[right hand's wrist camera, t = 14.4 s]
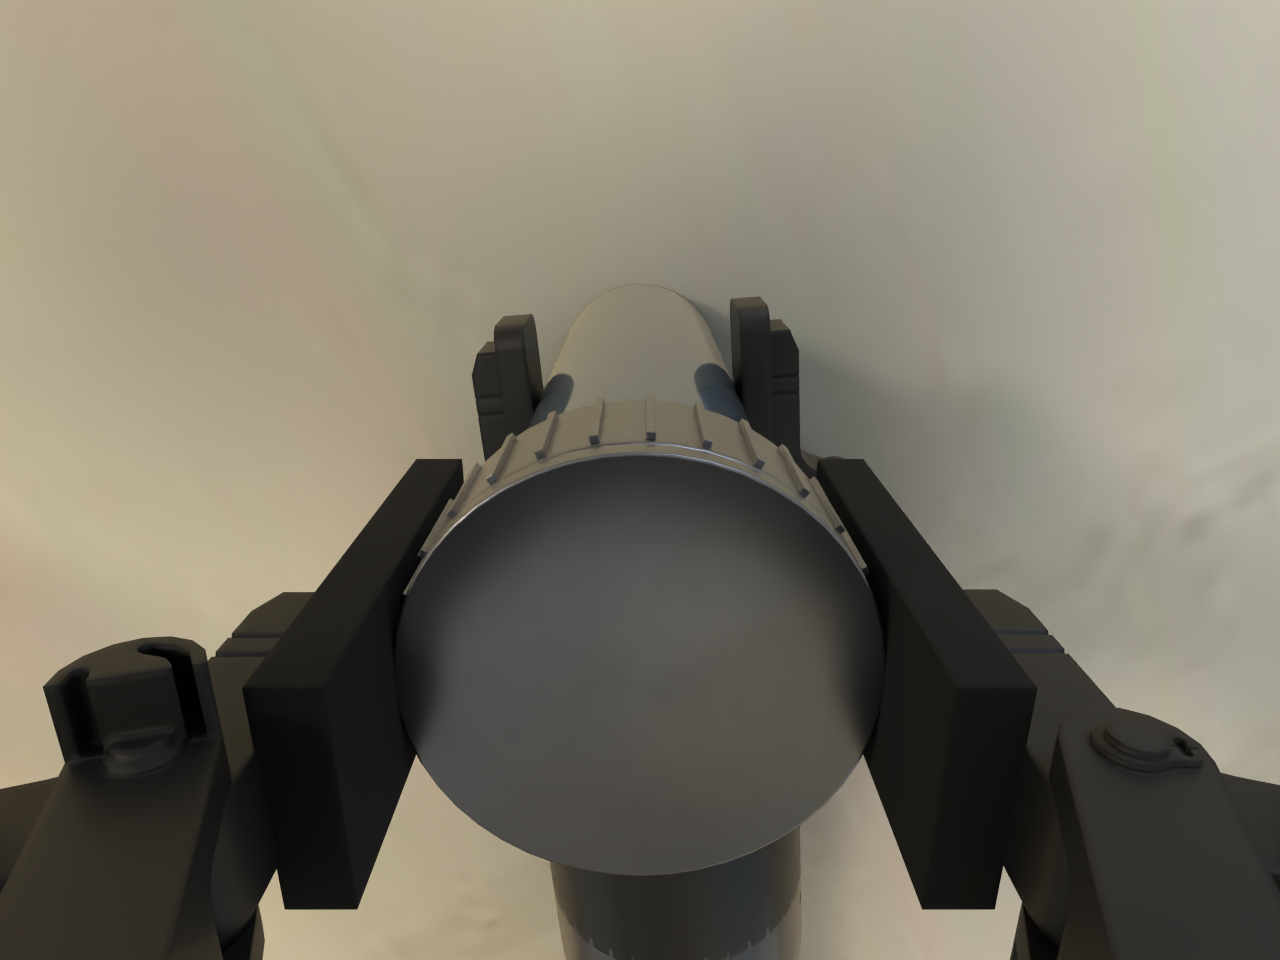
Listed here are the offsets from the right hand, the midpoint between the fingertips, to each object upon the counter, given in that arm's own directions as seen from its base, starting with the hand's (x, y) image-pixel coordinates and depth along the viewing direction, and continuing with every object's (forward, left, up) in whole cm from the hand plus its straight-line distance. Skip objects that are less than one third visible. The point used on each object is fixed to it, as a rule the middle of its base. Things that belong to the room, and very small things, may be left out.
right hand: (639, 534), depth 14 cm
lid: (0, 0, +4) cm, 4 cm away
